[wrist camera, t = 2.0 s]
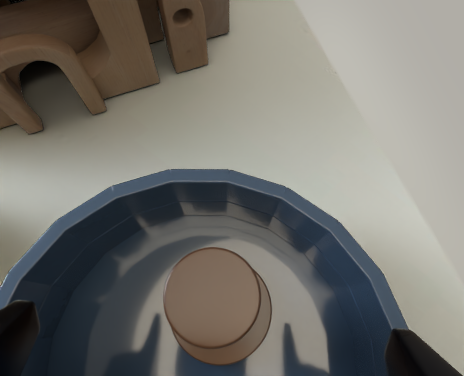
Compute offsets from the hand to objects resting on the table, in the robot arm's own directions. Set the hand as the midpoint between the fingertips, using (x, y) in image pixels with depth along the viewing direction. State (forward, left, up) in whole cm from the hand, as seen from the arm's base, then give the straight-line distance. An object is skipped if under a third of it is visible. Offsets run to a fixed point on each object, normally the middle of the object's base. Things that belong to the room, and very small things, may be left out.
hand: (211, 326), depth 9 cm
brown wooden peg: (+1, 0, -9) cm, 9 cm away
